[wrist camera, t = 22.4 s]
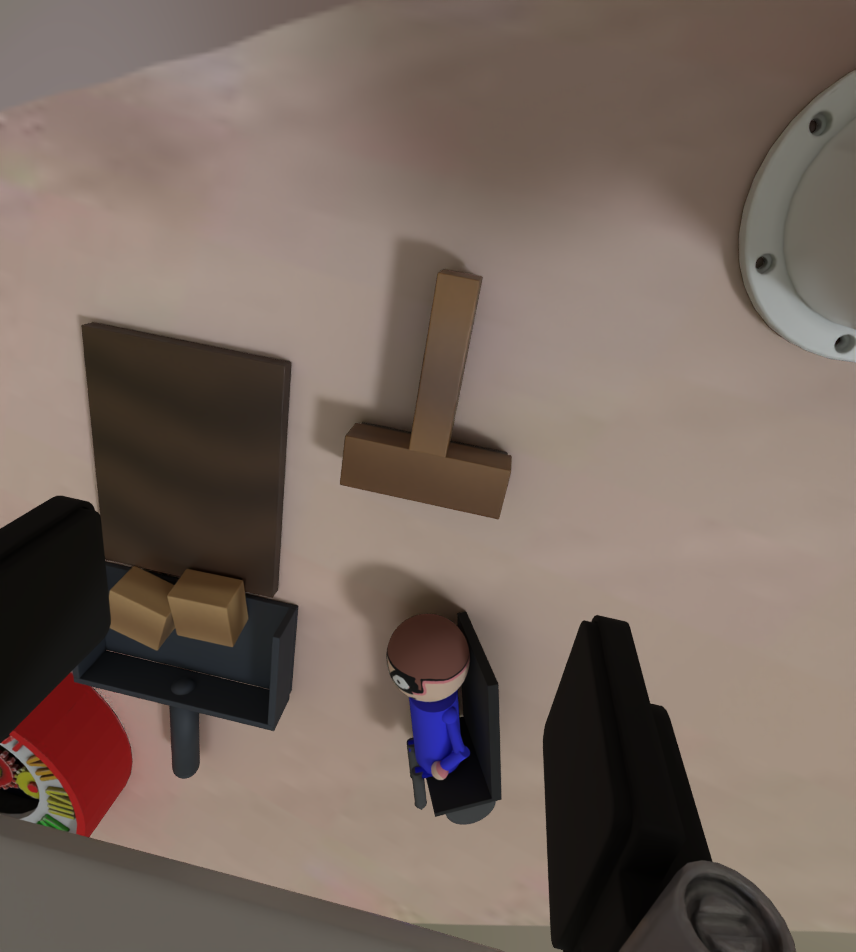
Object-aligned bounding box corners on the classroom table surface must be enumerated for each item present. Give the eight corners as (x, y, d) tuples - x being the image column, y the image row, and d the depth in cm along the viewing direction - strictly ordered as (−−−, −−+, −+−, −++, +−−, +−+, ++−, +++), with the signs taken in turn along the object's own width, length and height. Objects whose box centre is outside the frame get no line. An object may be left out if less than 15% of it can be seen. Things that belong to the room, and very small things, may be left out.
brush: (379, 253, 29) (363, 258, 26) (552, 287, 29) (556, 295, 26) (353, 464, 34) (338, 486, 32) (500, 495, 34) (498, 521, 31)
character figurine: (414, 745, 44) (402, 580, 38) (510, 760, 42) (512, 590, 36) (385, 844, 37) (364, 661, 31) (498, 867, 35) (499, 678, 29)
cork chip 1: (134, 564, 39) (109, 590, 37) (187, 591, 39) (166, 617, 37) (127, 599, 41) (103, 625, 39) (178, 624, 41) (157, 651, 39)
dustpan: (94, 558, 41) (60, 587, 38) (298, 605, 40) (279, 638, 37) (113, 731, 48) (85, 766, 45) (285, 774, 47) (268, 813, 44)
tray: (92, 321, 33) (80, 324, 32) (291, 361, 32) (285, 366, 32) (113, 551, 40) (104, 559, 39) (278, 589, 39) (272, 598, 38)
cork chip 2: (186, 567, 38) (166, 596, 36) (243, 579, 38) (226, 608, 36) (195, 607, 41) (176, 635, 39) (249, 618, 40) (233, 647, 38)
